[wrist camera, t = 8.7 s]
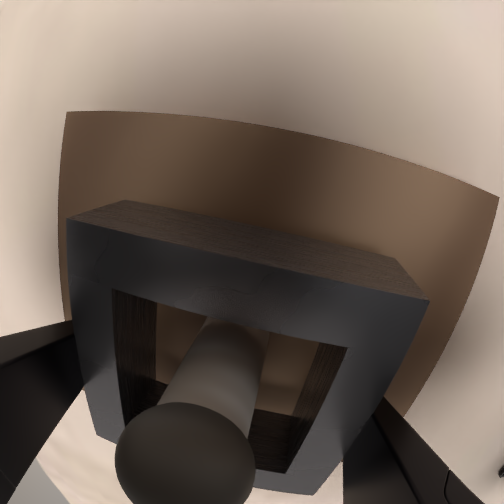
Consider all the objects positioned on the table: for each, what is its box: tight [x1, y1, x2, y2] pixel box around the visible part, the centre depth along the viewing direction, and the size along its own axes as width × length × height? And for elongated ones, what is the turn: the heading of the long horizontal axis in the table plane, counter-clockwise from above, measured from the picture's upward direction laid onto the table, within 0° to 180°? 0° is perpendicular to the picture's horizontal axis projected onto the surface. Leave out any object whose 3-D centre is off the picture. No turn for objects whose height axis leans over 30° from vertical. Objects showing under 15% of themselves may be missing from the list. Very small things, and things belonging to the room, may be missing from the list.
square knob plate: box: [58, 111, 500, 504], centre depth 7 cm, size 14×12×8 cm
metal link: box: [66, 199, 430, 495], centre depth 7 cm, size 7×7×2 cm
